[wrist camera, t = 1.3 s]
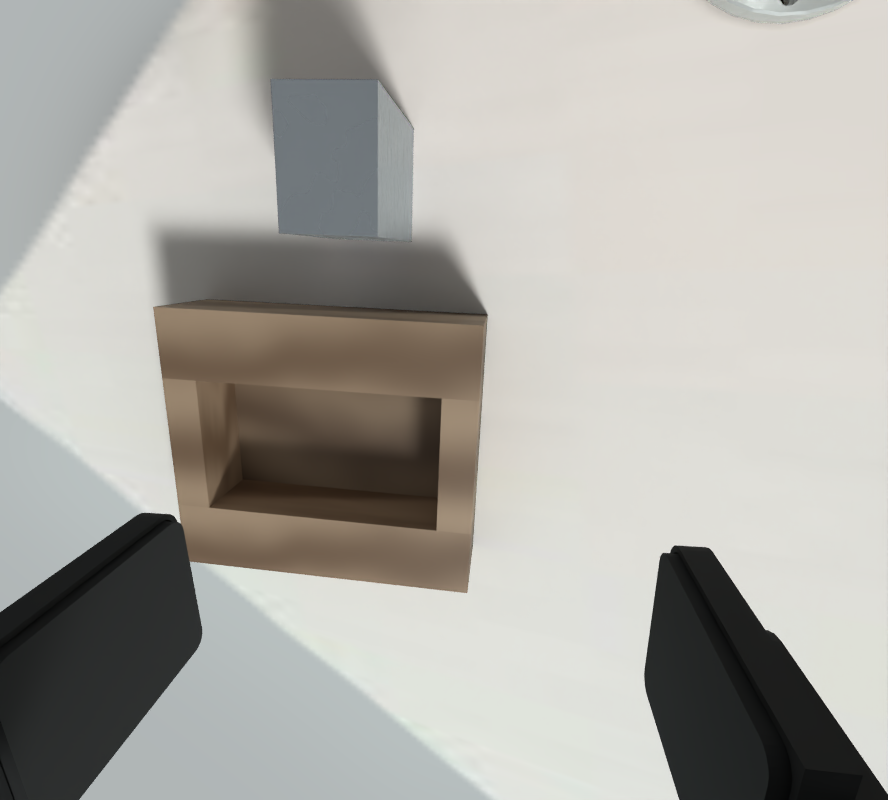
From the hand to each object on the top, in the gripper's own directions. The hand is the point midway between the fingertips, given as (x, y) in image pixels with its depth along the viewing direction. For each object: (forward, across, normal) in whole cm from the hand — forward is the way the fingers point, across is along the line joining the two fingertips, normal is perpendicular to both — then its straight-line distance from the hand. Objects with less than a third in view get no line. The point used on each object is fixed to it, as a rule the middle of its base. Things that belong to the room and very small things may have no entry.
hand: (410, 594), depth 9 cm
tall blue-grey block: (+22, +6, -10) cm, 25 cm away
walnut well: (+22, +9, +5) cm, 24 cm away
